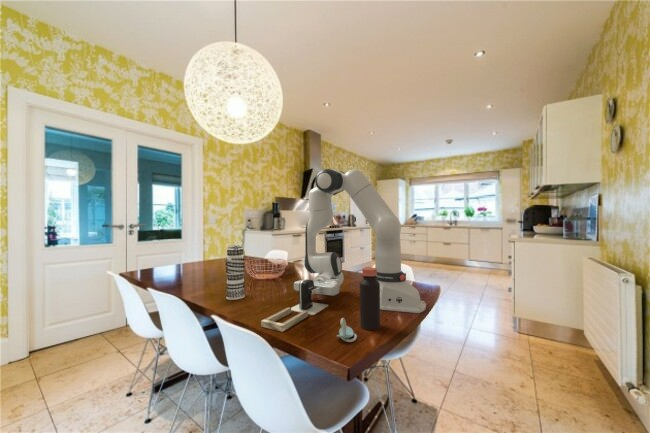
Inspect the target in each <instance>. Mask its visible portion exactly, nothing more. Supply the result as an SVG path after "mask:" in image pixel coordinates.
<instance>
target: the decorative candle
mask: <svg viewBox="0 0 650 433" xmlns="http://www.w3.org/2000/svg"><path fill="white" fill-rule="evenodd" d="M244 248H245V247H243V246H242V245H241V244H231V245H229V246H228V247H227V248H226V259H225V266H226V267H225V274H226V275H227V276H226V283H225V285H226V287H225V289H226V291H225V292H226V293H225V296H226V297H225V298H226V300H229V301H232V300H233V301H234V300H241V299H243V298H245V294H246V292H245V291H246V289H245V288H244V287H245V284H246V282H245V279H244V274H245V267H246V266H245V264H246V263H245V262H244V261H246V256H245V254H244Z"/></svg>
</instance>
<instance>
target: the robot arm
mask: <svg viewBox="0 0 650 433" xmlns="http://www.w3.org/2000/svg"><path fill="white" fill-rule="evenodd" d="M314 181H315V182H314V183H315V185H316V186H315V187H313V188H312V189H310V190H309V192H308V208H309V219H308V222H306V225H305V231H304V232H305V234H304V235H305V236H304V238H305V239H304V240H305V247H304V248H305V250H304V251H305V254H304V261H303V262H304V263H303V264H304V268H305V269H306V271H307V272H308V273H309V274H318V275H316V276H314V278H313V279H312V280H313V282H314V289H311V290H310V294H311V295H316V294H318V295H320V296H321V295H324V296H336V295H338V294H339V293H340V286H341V285H342V284H343V281H344V273H343V272H342V270H343V262H342V259H341V257H340V256H339V254H338V253H336V252H335V251H334V252H332V251H331V252H317V249H316V248H317V247H316V246H317V244H316V242H317V238H316V237H317V234H318V233H319V232H320V231H322V230H324V229H326V228H327V227H329V225H331V223H332V222H333V218H334V212H333V205H332V197H333V196H336V195H338V194H340V193H342V192H343V191H345V192H346V193H347V194H348V196H349V197H350V199H351V200H352V201H353V203H354V204H355V205H356V207H357V208H358V210H359V211H360V213H361V214H362V216H363V217H364V219H365V221H366V222H367V223H368V225H369V227H371V229H372V230H373V233H374V236H375V238H374V240H375V241H374V242H375V243H374V244H375V245H374V261H375V262H374V266H375V267H374V268H376V269H377V275H376V276H377V277H376V280H377V281H378V282H379V284H380V310H381V311H393V312H403V313H414V314H420V313H423V312H424V311H426V309H427V303H426V302H425V301H424V300H421V296H420V295H421V294H420V291H419V290H418V289H417V287H415V286H414V285H412V284H411V283H410V282H409V281H407V272H403V271H402V249H401V230H402V224H401V222H400V220H399V218H398V217H397V215H396V214H395V212H394V211H392V208H390V207H389V205H388V204H387V202H386V201H385V200H384V199H383V197H382V196H381V194H380V193H379V192H378V190H377V189H376V188H375V186H374V185H373V184H372V182H371V181H370V180H369V178H367V177H366V175H365V174H363V172H362V171H360V170H359V169H358V168H352V169H349V170H348V171H346V172H345V173H344V172H343V171H341V170H338V169H334V168H324V169H322V170H320V171H319V172H318V173H317V174H316V176H315V180H314ZM320 273H321V274H320ZM303 280H304V279H301V280H300V279H299V280H297V281H294V283H293V289H294V291H297V292H299V284H300V282H301V281H303Z"/></svg>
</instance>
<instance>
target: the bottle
mask: <svg viewBox="0 0 650 433" xmlns="http://www.w3.org/2000/svg"><path fill="white" fill-rule="evenodd" d="M361 271H362V274H361V275H362V277H363V278H362V280H361V281H360V282H359V312H360V313H359V317H360V318H359V319H360V322H359V326H360V327H361V328H362V329H364V330H366V331H377V330H379V329H380V328H381V309H380V284H379V282H378V281H377V280H376V277H377V276H376V275H377V269H376V268H375V267H371V266H370V267H369V266H368V267H363V268H362V270H361Z"/></svg>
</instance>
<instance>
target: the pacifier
mask: <svg viewBox="0 0 650 433" xmlns="http://www.w3.org/2000/svg"><path fill="white" fill-rule="evenodd" d="M339 324H340V328H339V331H338V333H339V334H336V337H337V338H340V339H341V340H342V341H344V342H346V343H352V342H355V341H356V340H357V338H358V335H357V333H356V332H354V330H353V328H352V327H350V326H348V325H347V321H346V319H345V317H342V318H341V319H340V322H339ZM352 337H353V338H352Z"/></svg>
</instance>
